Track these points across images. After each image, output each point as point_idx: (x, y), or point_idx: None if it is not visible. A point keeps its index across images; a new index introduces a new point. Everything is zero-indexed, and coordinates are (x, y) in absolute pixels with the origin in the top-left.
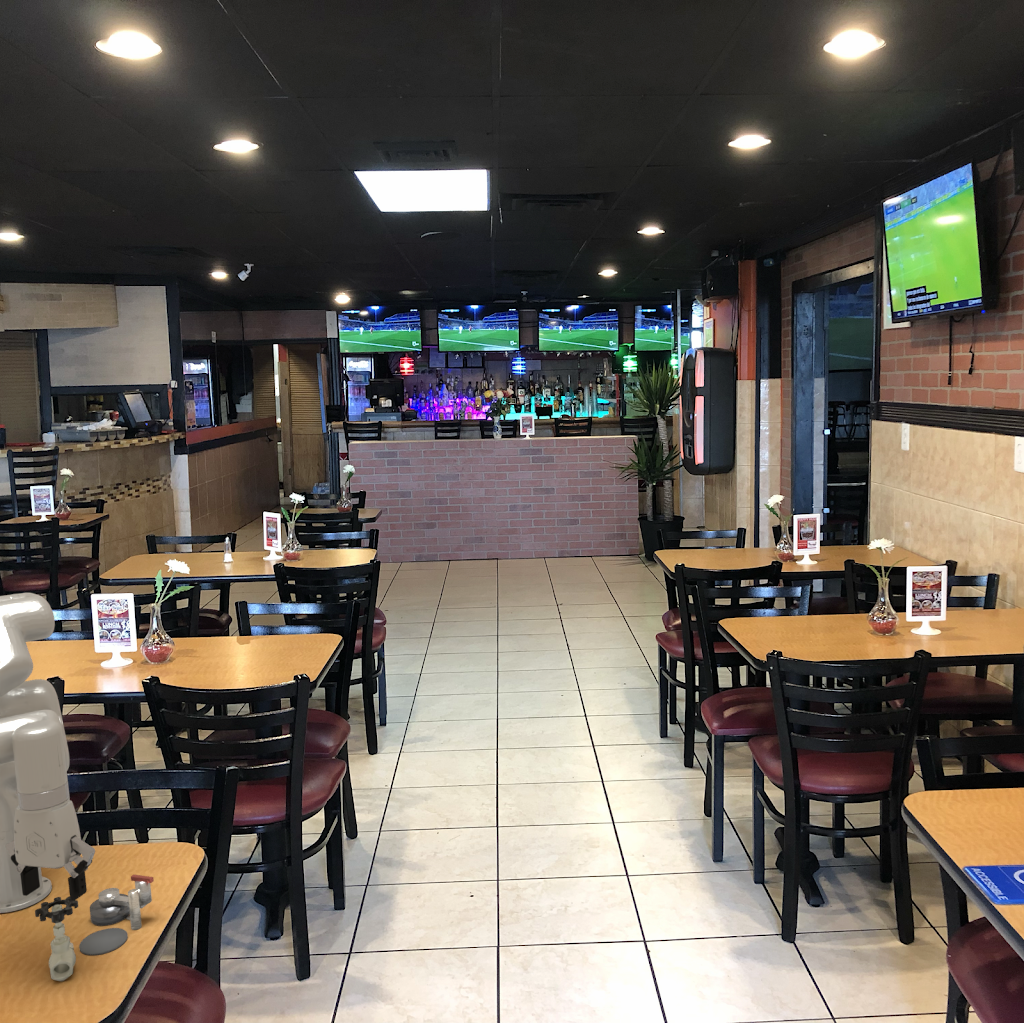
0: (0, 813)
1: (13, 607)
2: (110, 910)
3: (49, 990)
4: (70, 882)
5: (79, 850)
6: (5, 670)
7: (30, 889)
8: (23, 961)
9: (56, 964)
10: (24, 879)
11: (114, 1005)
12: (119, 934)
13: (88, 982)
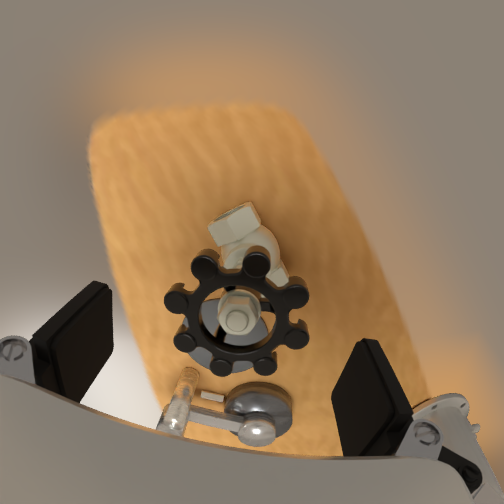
0: None
1: None
2: (242, 404)
3: (246, 181)
4: (49, 323)
5: None
6: None
7: (353, 367)
8: (359, 282)
9: (234, 212)
10: (384, 392)
11: (94, 144)
12: (203, 354)
13: (177, 209)
